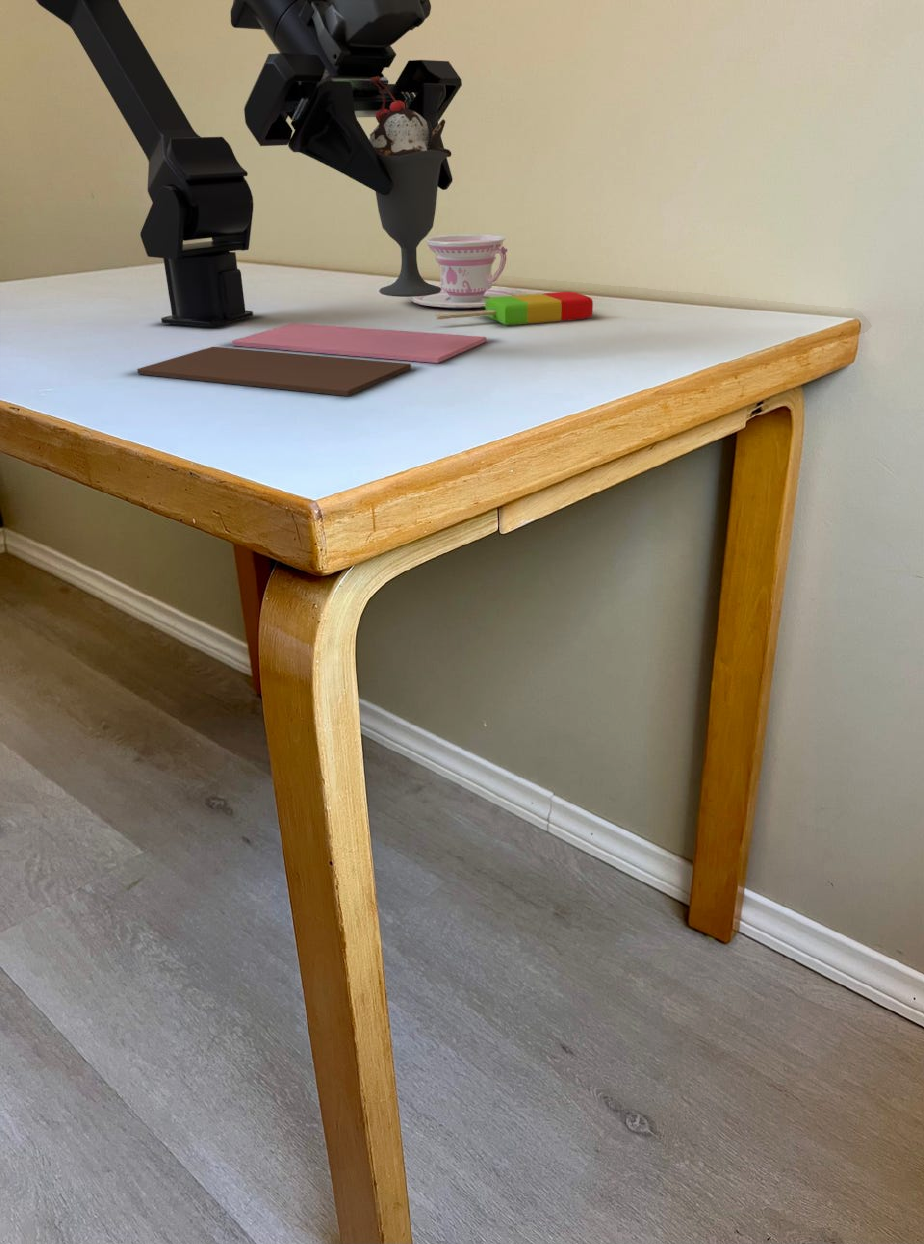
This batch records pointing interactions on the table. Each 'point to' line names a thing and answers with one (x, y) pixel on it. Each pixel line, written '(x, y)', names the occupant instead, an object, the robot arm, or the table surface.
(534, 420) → the table surface
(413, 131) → the sundae
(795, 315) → the table surface
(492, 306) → the popsicle
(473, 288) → the teacup
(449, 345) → the pink mat
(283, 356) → the brown mat
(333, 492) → the table surface
